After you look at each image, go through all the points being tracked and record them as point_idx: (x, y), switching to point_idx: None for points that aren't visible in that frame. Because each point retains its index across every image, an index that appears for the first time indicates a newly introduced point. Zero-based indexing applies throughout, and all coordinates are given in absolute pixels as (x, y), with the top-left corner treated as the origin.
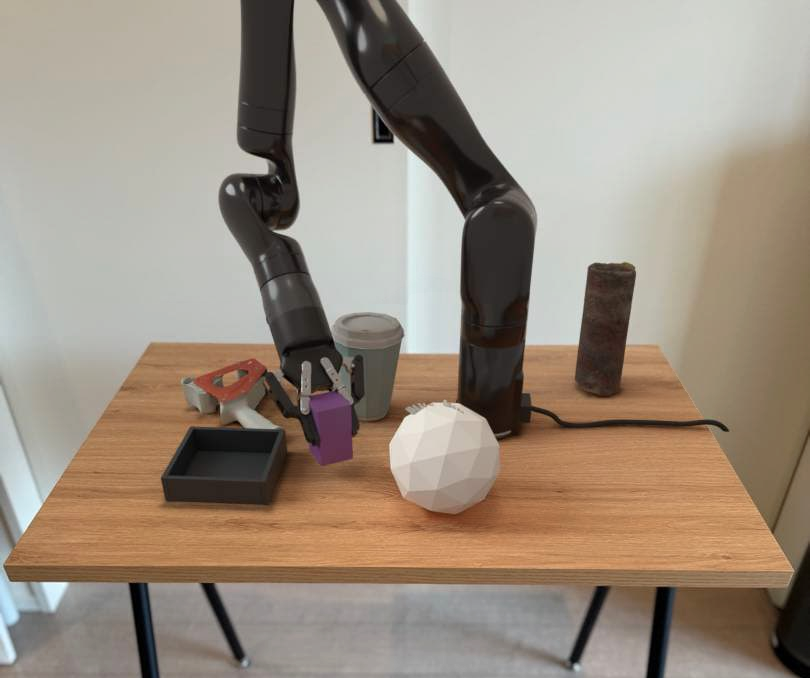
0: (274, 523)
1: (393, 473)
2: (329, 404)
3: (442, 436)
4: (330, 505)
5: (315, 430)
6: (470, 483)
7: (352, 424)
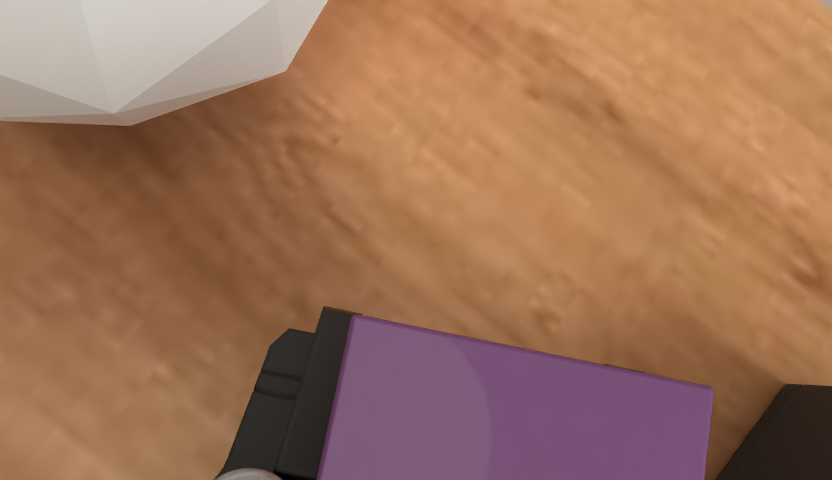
0: (803, 282)
1: None
2: (537, 456)
3: None
4: (550, 248)
5: None
6: None
7: (334, 349)
